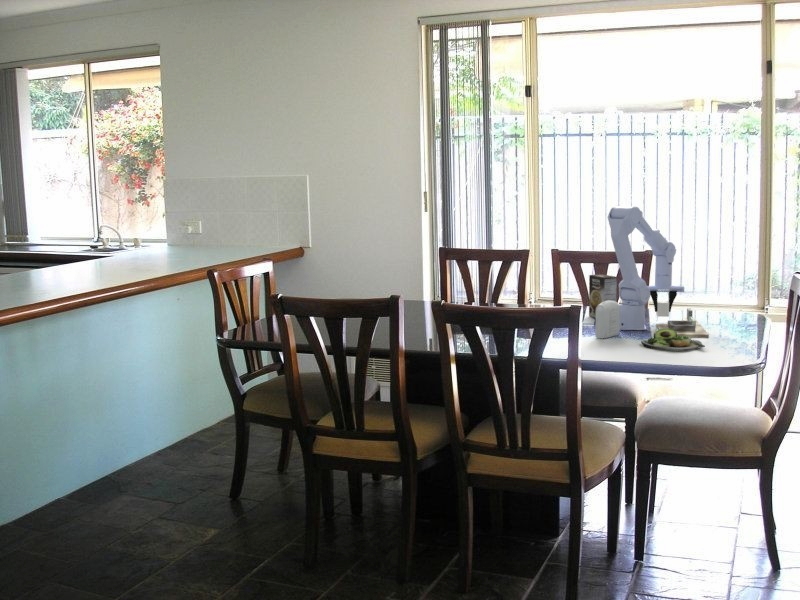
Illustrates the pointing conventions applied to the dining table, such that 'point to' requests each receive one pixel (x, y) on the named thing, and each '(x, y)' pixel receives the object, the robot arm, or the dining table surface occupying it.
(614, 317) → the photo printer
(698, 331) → the beige board
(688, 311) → the gate
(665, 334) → the salad plate
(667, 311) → the white cube block
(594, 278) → the coffee box
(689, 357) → the dining table surface
